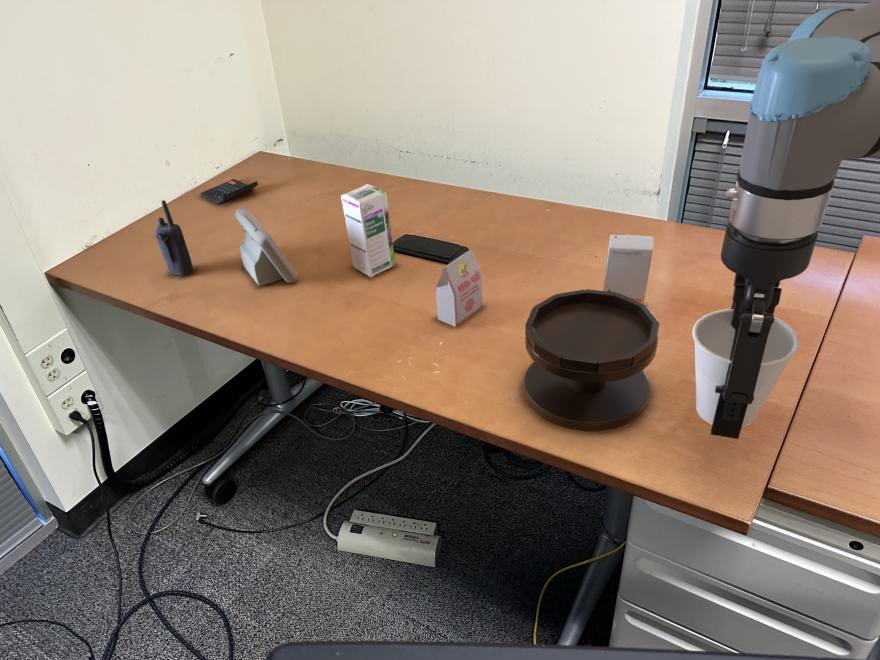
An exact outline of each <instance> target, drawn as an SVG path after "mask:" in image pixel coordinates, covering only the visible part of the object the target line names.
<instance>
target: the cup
mask: <svg viewBox="0 0 880 660" xmlns="http://www.w3.org/2000/svg"><path fill="white" fill-rule="evenodd" d="M732 314H733V309H731V308H727V309H721V310H715V311H711V312H709V313H707V314H705V315H703V316H702V317H700V318H699V319H698V320H697V321H696V322H695V324H694V325H693V327H692V336H691V337H692V338H693V341H694V367H695V368H694V370H695V375H694V377H695V409H696V412H697V414H698V417H700V418H701V419H702V420H703V421H704V422H706V423H707V424H709V425H711V426H712V424H713V420H714V416H715V412H716V407H717V403H718V399H719V395H720V393H715V388H716V386H722V385H724V384H725V379H726V374H727V370H728V366H729V363H730V364H731V361H730V359H729V358H730V353H731V348H732V343H733V338H734V333H735V329H734V328H733V327H732V325H730V323H731V318H732ZM799 347H800V339H799V335H798V334H797V332H796V331H795V330H794V328H792V326H791V325H789V324H788V323H787V322H785V321H784V320H782V319H780V318H778V317H777V316H774V323H772V325H771V329H770V332H769V335H768V338H767V342H766V346H765V350H764V354H763V359H762V363H761V367H760V371H759V375H758V379H757V383H756V387H755V391H754V395H753V396H754V400H753V401H752V403H751V404H748V406H747V410H746V413H745V417H744V421H743V424H742V428H741V429H743V428H747V427H749V426H750V425H751V424H753V423H754V422H755V421H756V419H757V417H758V415H759V414H760V412H761V411H762V408H763V406H764V405H765V403H766V401H767V399H768V398H769V396H770V394H771V392H772V390H773V389H774V387H775V385H776V384H777V382H778V380H779V378H780V377H781V375H782V373H783V372H784V370H785V369H786V366H787V365H788V363H789V362H790V360H791V358H793V356H795V355H796V353H797V352H798V350H799Z"/></svg>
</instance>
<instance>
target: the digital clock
mask: <svg viewBox="0 0 880 660" xmlns="http://www.w3.org/2000/svg"><path fill="white" fill-rule="evenodd" d="M234 217H235V219H236V220H237V221H238V223H239V224H240V226H242V229H244V230H243V233H244V234H245V236H244V240H243V242H242V243H241V245H239V253H240V256H241V260H242V263H243V267H244V269H245V270H246V271H247V272H248V274H249V275H250V276H251V278H252V279H253V280H254V282H255V283H256V284H257V285H258V286H259V287H263V286H266V285H268V284H272V283H275V282H277V281H280V280H284V281H285V283H289V284H290V283H291V284H292V283H295V282H296V281H297V279H298V273H297V270H296V269H295V268H294V267H293V265H292V264H291V263H290V261H289V260H288V258H287V257H286V255H285V254H284V253H283V251H282V249H281V248H280V247H279V246H278V244H277V243H276V241H275V239H273V237H272V236H271V235H270V234H269V232H268V231H267V230H266V229H265V228H264V226H262V225H261V224H260V222H259V221H258V220H257V219H256V218H255V217H254V216H253V215H252V214H251V213H250V212H249V210H248V209H247V208H245V207H239V208H237V209H236V210H235V214H234Z"/></svg>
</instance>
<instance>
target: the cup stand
mask: <svg viewBox="0 0 880 660" xmlns="http://www.w3.org/2000/svg"><path fill="white" fill-rule="evenodd" d="M524 326H525V328H524V335H525V337H524V339H525V341H524V342H525V343H524V344H525V350H526V352H527V354H528V355H529V357H530V359H531V360H532V361H533V362H532V363H531V364H530V366H529V367H528V368H527V370H526V371H525V376H524V382H523V383H524V384H523V390H524V397H525V399H526V401H527V403H528V405H529V406H530V408H531V409H532V410H533V411H534V412H535V413H536V414H537V415H539V416H540V417H541V418H543V419H544V420H546V421H548V422H549V423H552V424H554V425H557V426H560V427H563V428H565V429H569V430H570V429H571V430H574V431H575V430H576V431H581V432H582V431H583V432H600V431H601V432H602V431H607V430H612V429H616V428H619V427H623V426H625V425H627V424H629V423H631V422H633V421H634V420H635V419H637V418H638V417H639V416H640V415H641V414H642V413H643V411H644V410H645V408H646V406H647V404H648V401H649V395H650V381H649V379H648V376H647V374H646V373H645V371H644V370H645V369H646V368H647V367H648V366H649V365H650V364H651V362H653V360H654V358H655V356H656V354H657V350H658V344H659V335H658V333H659V328H660V321H659V320H658V319H657V317H656V316H655V315H654V314H653V312H652V311H651V310H650V309H649V307H648V306H647V305H646V304H645V303H644V304H643V303H640V302H638V301H636V300H634V299H631V298H629V297H627V296H624V295H622V294H620V293H618V294H617V292H607V291H603V290H597V289H589V288H588V289H587V288H586V289H578V290H573V291H567V292H560V293H555V294H553V295H551V296H549V297H548V298H546V299H544V300H543V301H540V302H539V303H538V304H536V305H534V306H533V307H532V308H531V311H530V313H529V315H528V318H527V321H526V323H525V324H524Z"/></svg>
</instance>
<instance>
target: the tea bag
mask: <svg viewBox="0 0 880 660" xmlns="http://www.w3.org/2000/svg"><path fill="white" fill-rule="evenodd" d="M435 296H436V297H435V298H436V299H435V300H436V313H437V320H439V321H441V322H444V323H445V324H447V325H450V326H452V327H455V328H456V327H458V326H459V325H460V324H462V323H463V322H464V321H466V320H467V319H468V318H470V317H471V316H473V315H474V314H475V313H477V312H478V311H479V310H481V309H483V276H482V273H481V270H480V267H479V265H478V262H477V261H476V257H475V254H474V250H473V249H469V250H468V251H466V252H464V253H463V254H462V255H460V256H458V257H457V258H455V259H454V260H452V261H451V262H449V263H448V264H446V265H445V266H444V267H442V269H441V274H440V277H439V279H438V282H437V284H436V286H435Z"/></svg>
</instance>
